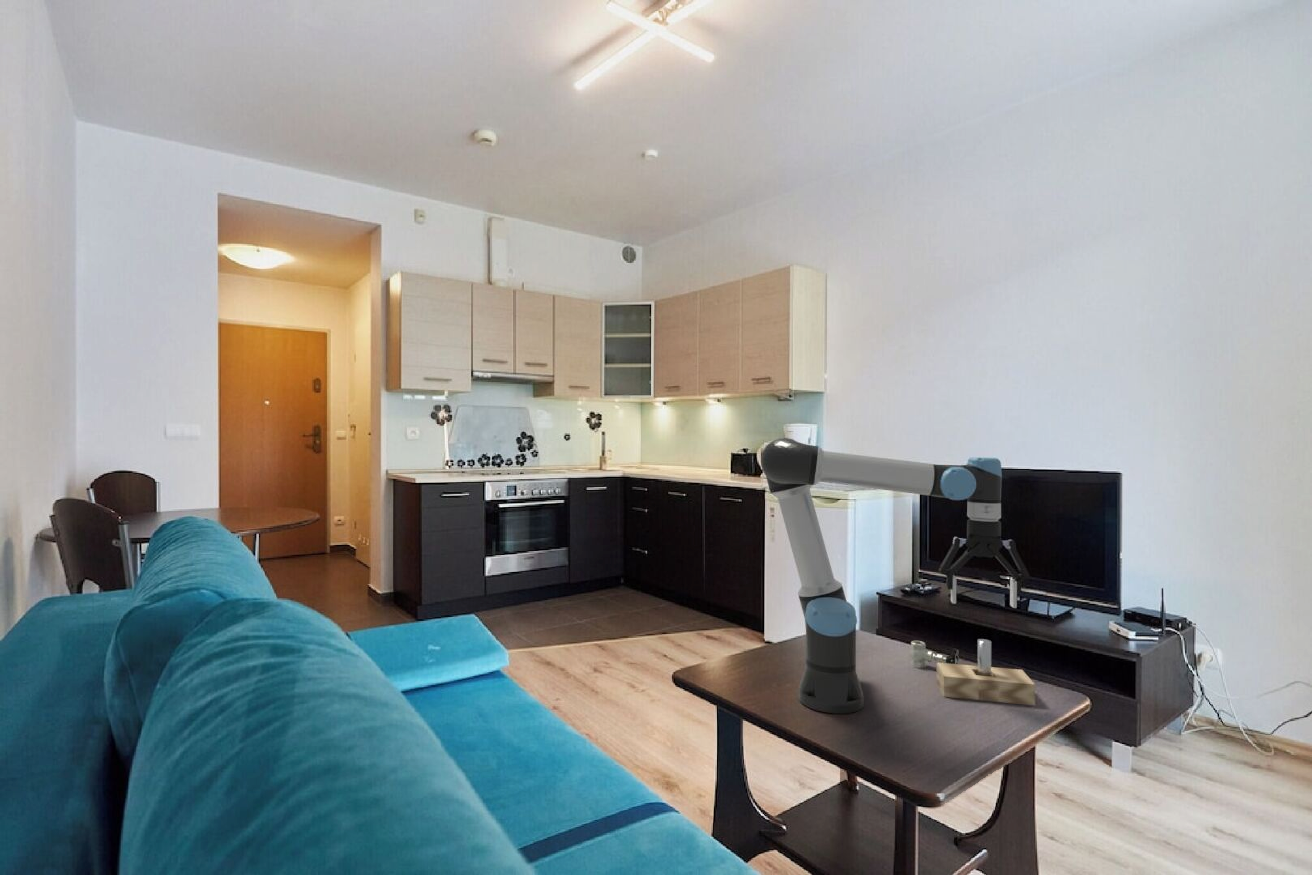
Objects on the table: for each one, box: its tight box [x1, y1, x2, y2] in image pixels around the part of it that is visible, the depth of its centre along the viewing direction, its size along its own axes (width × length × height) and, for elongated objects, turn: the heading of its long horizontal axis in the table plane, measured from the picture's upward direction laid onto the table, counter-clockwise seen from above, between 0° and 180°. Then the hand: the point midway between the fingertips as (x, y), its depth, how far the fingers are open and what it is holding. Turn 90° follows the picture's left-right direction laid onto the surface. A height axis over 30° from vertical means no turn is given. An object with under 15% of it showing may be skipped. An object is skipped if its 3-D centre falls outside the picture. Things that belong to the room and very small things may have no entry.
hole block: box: [936, 662, 1036, 706], centre depth 158 cm, size 20×10×5 cm, turn 75°
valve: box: [909, 640, 960, 669], centre depth 175 cm, size 7×7×12 cm
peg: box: [977, 638, 992, 677], centre depth 158 cm, size 3×3×13 cm
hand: (982, 604), depth 158 cm, fingers open, 13 cm apart
